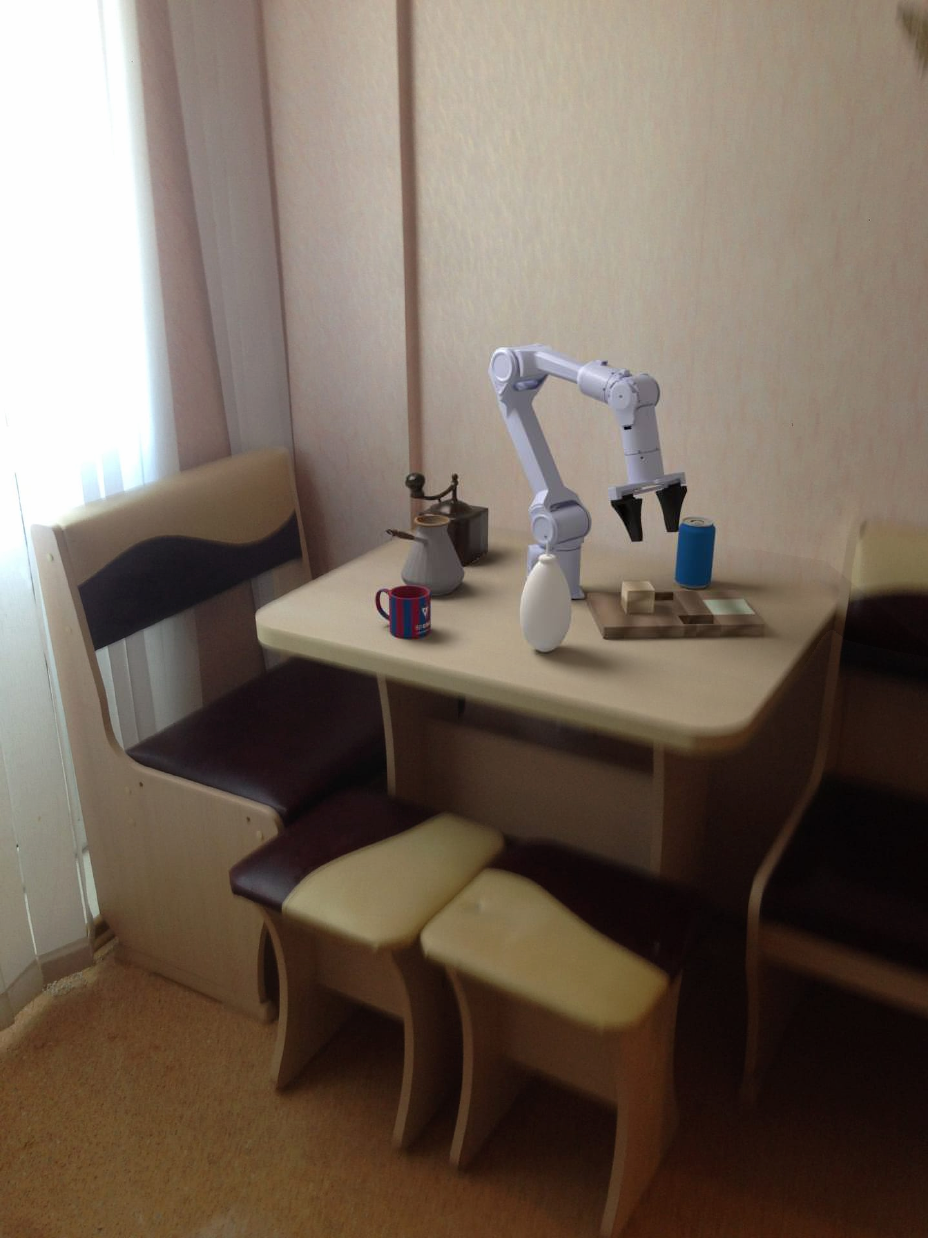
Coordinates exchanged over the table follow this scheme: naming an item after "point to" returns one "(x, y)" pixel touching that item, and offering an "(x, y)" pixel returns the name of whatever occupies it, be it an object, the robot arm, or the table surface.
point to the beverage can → (695, 552)
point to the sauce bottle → (545, 604)
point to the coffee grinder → (456, 518)
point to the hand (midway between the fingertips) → (655, 536)
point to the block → (637, 597)
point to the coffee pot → (431, 556)
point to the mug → (407, 611)
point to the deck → (676, 615)
